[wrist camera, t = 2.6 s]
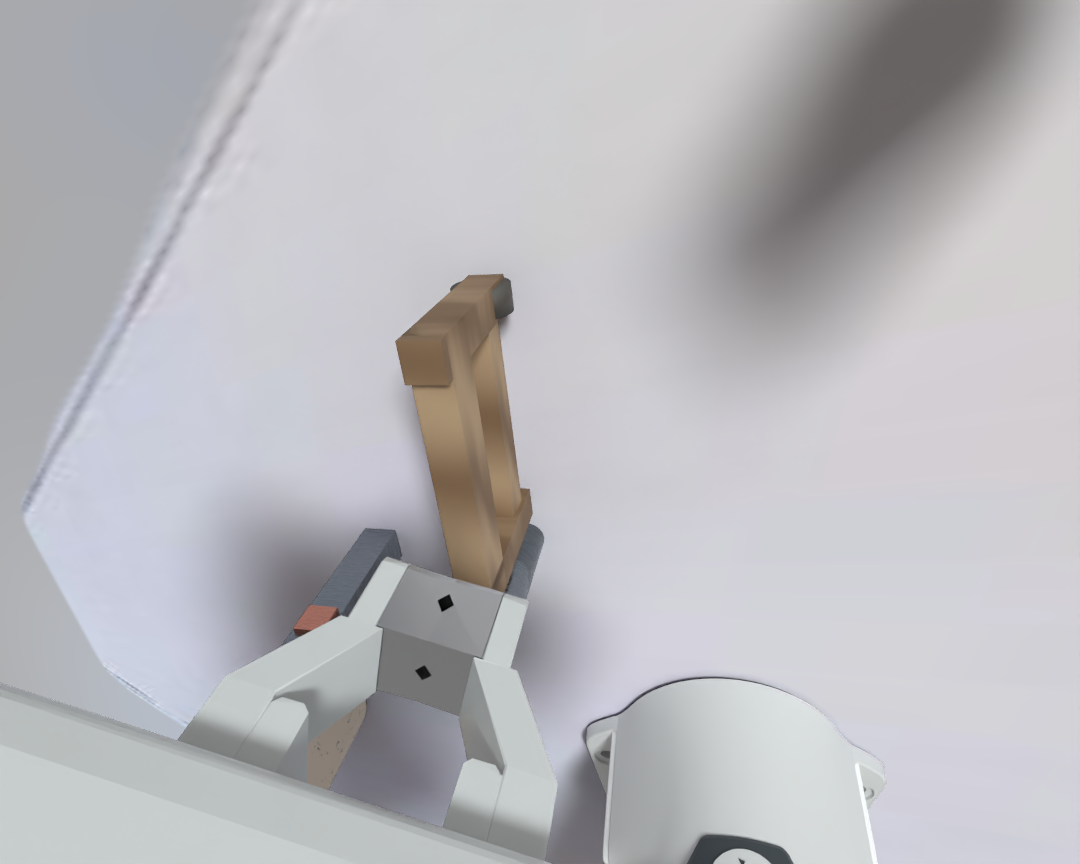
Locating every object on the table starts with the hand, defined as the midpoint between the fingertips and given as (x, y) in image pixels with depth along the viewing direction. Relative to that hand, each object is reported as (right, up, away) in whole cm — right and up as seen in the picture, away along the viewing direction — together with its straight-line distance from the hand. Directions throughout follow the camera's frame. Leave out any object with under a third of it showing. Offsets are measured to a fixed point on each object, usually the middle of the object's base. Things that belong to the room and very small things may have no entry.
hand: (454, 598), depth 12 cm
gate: (0, +5, +18) cm, 19 cm away
